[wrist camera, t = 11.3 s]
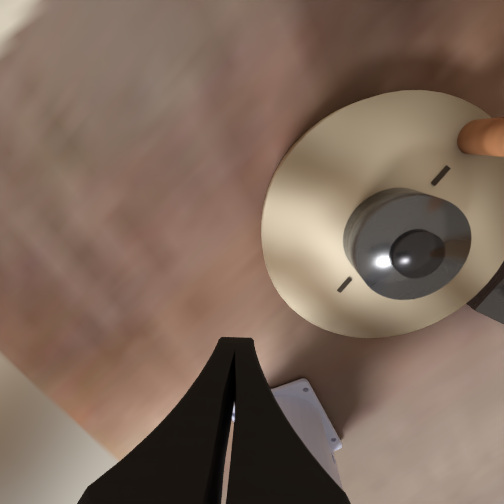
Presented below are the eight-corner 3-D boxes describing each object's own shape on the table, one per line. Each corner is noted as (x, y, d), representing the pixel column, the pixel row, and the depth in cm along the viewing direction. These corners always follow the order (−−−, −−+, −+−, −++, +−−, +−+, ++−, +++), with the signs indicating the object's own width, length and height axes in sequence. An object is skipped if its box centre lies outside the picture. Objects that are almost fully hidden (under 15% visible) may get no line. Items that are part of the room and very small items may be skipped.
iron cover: (394, 293, 20) (421, 322, 16) (323, 249, 18) (338, 272, 15) (460, 220, 18) (505, 238, 15) (386, 167, 17) (417, 174, 13)
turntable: (382, 352, 24) (421, 418, 18) (218, 255, 21) (204, 298, 15) (549, 192, 19) (672, 215, 13) (366, 32, 16) (427, -26, 10)
